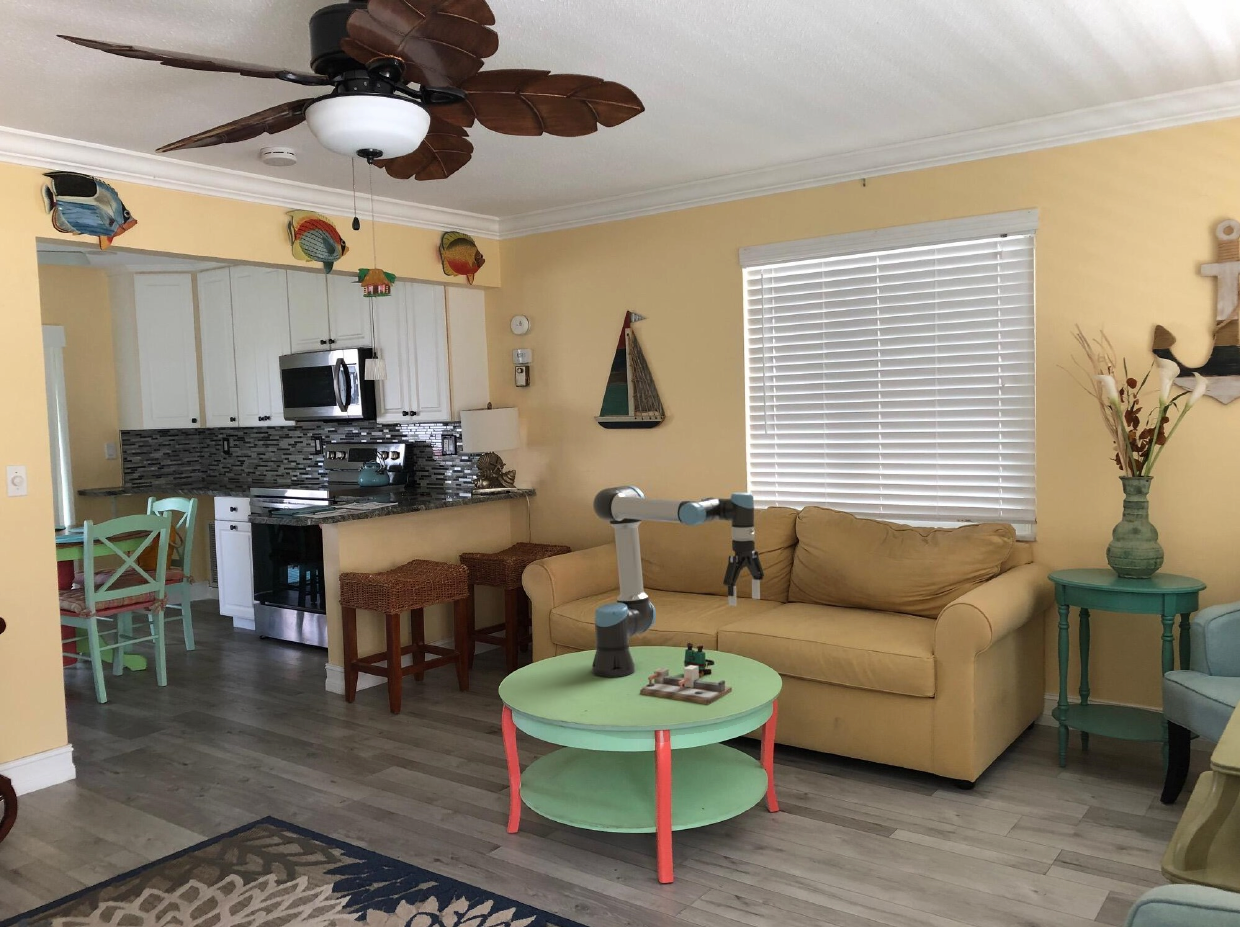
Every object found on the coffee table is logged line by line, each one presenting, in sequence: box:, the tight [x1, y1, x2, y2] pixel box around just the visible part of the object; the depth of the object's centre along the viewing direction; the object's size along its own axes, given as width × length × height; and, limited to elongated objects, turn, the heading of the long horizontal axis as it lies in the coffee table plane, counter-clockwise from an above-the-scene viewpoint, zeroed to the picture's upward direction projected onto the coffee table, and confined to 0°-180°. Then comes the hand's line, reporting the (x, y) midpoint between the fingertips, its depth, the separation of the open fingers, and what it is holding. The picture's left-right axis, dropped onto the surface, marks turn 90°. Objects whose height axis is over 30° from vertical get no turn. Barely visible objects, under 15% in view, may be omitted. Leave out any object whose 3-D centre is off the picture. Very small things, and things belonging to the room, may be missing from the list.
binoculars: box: [683, 642, 715, 677], centre depth 327 cm, size 9×11×10 cm
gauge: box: [639, 667, 733, 705], centre depth 305 cm, size 25×16×5 cm, turn 57°
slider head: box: [679, 665, 700, 689], centre depth 305 cm, size 3×10×6 cm, turn 147°
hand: (744, 602), depth 315 cm, fingers open, 13 cm apart
